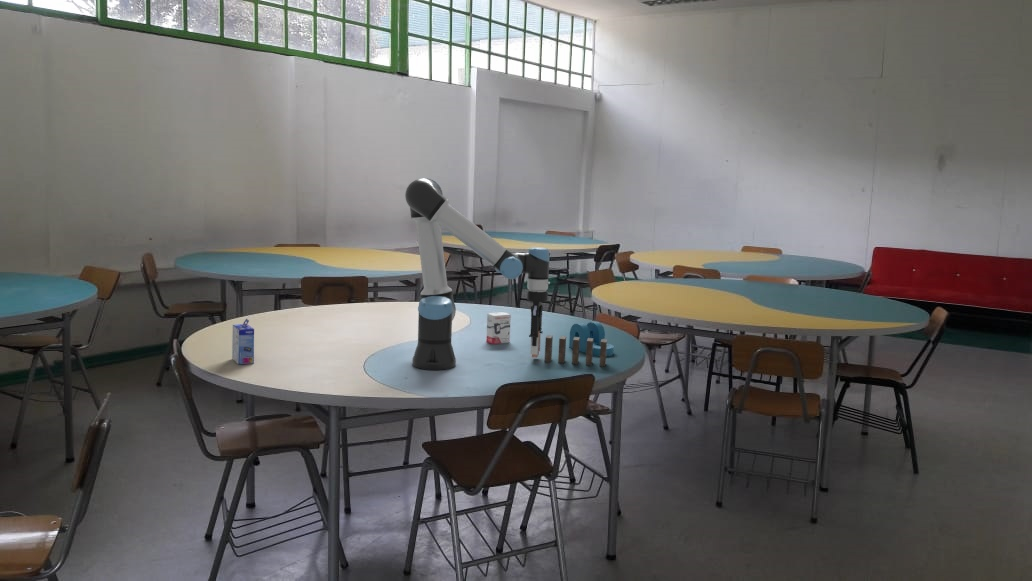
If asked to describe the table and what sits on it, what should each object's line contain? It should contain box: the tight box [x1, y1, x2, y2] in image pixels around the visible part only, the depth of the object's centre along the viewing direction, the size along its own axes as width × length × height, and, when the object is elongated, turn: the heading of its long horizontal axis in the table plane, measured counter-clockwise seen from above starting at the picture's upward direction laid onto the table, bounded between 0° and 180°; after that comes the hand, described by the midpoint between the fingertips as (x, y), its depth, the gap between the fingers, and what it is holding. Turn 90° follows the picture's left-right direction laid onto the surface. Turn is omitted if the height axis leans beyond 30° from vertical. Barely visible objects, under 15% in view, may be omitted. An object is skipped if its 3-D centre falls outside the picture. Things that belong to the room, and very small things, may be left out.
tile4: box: [571, 337, 580, 365], centre depth 275 cm, size 2×5×9 cm, turn 171°
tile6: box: [599, 338, 608, 368], centre depth 273 cm, size 2×5×9 cm, turn 171°
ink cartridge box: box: [231, 318, 255, 365], centre depth 257 cm, size 10×6×14 cm, turn 33°
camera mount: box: [568, 321, 615, 357], centre depth 295 cm, size 18×10×10 cm, turn 34°
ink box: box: [485, 311, 512, 345], centre depth 303 cm, size 8×5×12 cm, turn 123°
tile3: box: [557, 335, 567, 364], centre depth 276 cm, size 2×5×9 cm, turn 171°
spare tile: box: [531, 331, 541, 358], centre depth 277 cm, size 2×5×9 cm, turn 171°
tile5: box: [585, 338, 593, 366], centre depth 274 cm, size 2×5×9 cm, turn 171°
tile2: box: [544, 334, 554, 363], centre depth 276 cm, size 2×5×9 cm, turn 171°
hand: (535, 352), depth 277 cm, fingers closed on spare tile, 5 cm apart
